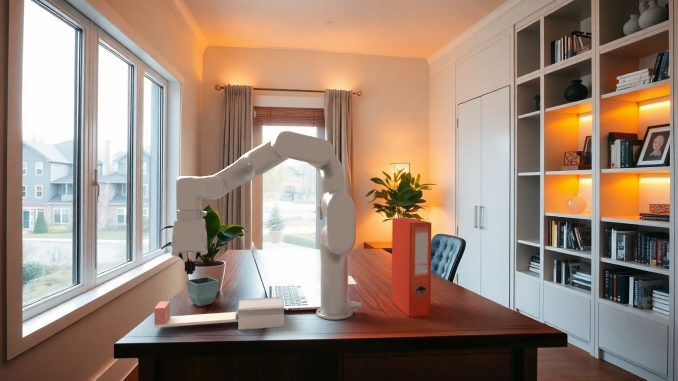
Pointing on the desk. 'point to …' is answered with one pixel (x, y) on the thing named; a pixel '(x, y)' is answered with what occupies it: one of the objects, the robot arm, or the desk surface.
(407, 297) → the file binder
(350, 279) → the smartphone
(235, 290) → the desk surface
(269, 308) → the block
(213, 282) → the flower pot
